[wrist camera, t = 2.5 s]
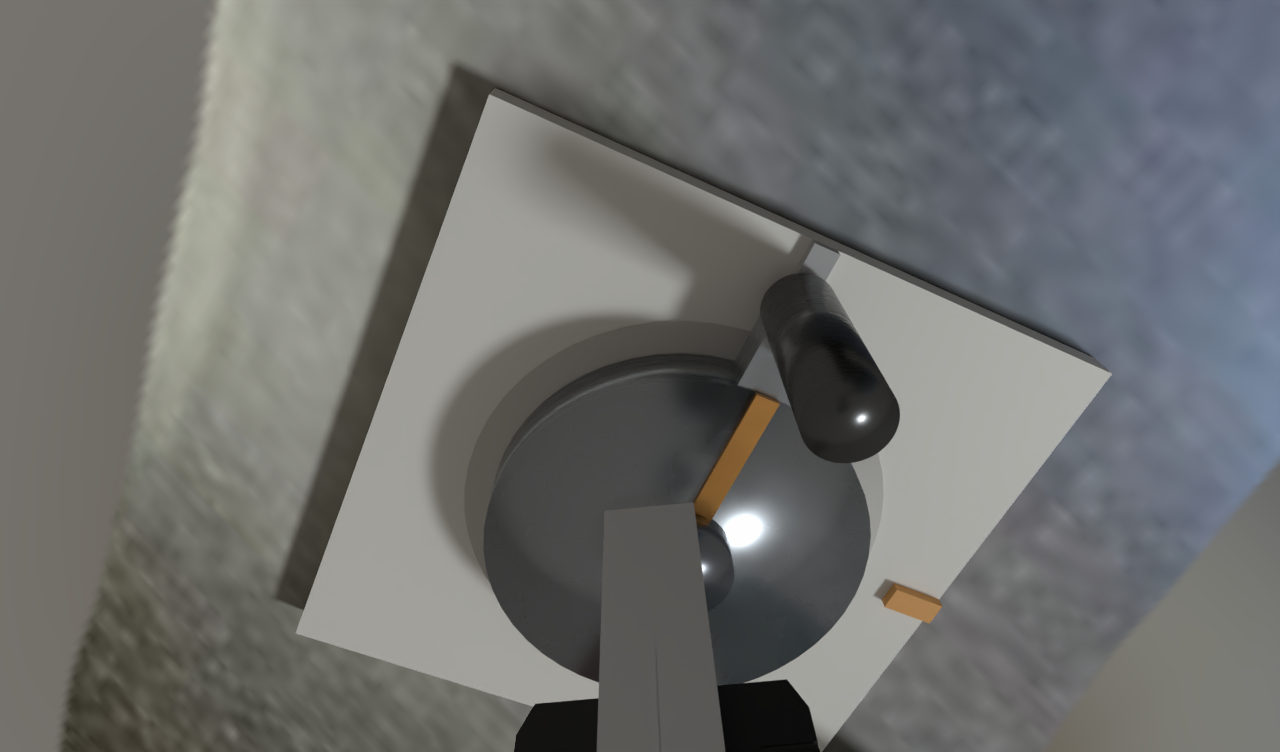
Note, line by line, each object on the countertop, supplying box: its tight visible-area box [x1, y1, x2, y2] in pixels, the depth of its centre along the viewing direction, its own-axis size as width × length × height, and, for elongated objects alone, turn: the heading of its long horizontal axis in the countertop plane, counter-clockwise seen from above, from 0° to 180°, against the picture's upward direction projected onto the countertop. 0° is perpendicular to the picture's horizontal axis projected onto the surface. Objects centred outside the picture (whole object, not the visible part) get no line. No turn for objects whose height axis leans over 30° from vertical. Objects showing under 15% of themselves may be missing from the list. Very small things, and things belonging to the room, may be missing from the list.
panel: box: [296, 88, 1112, 752], centre depth 32 cm, size 22×22×2 cm
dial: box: [483, 273, 900, 685], centre depth 27 cm, size 17×13×8 cm
